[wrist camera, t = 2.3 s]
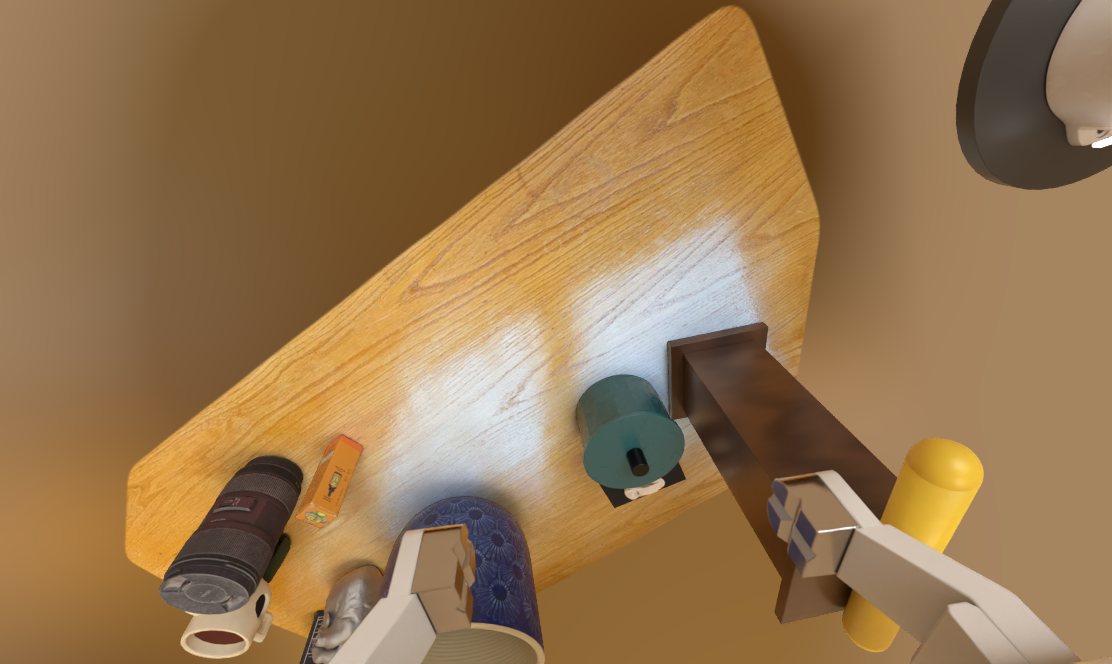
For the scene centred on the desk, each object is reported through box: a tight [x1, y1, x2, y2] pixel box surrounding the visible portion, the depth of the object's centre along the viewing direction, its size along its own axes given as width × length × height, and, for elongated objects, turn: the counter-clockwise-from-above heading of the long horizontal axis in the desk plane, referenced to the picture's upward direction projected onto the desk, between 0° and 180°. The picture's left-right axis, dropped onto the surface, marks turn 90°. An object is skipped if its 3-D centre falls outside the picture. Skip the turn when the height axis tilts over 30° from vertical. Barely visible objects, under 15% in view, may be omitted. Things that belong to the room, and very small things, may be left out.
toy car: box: [623, 478, 666, 501], centre depth 61 cm, size 8×6×2 cm
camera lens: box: [159, 456, 303, 615], centre depth 47 cm, size 8×8×15 cm
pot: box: [576, 375, 670, 448], centre depth 52 cm, size 11×11×8 cm
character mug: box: [181, 537, 290, 658], centre depth 54 cm, size 11×7×13 cm, turn 29°
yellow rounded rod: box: [842, 438, 984, 652], centre depth 28 cm, size 22×3×3 cm, turn 9°
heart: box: [312, 565, 383, 664], centre depth 62 cm, size 10×10×12 cm
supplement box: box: [295, 435, 363, 528], centre depth 48 cm, size 3×4×10 cm
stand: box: [668, 322, 897, 624], centre depth 43 cm, size 12×12×26 cm
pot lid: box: [583, 411, 685, 489], centre depth 48 cm, size 12×12×4 cm
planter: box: [375, 497, 545, 664], centre depth 55 cm, size 21×21×19 cm
